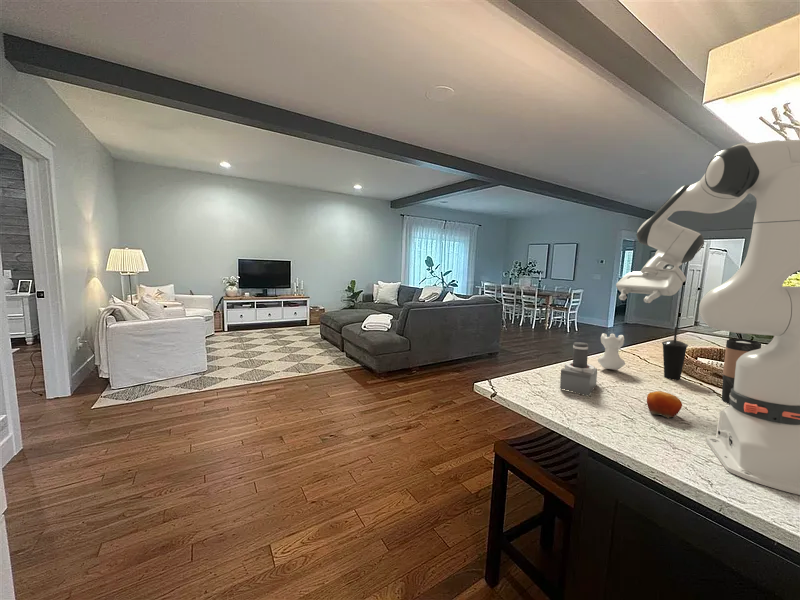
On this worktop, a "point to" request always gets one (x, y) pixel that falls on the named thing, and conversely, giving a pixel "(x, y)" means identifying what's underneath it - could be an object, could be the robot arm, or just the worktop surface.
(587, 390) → the grey block with hole
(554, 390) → the worktop surface
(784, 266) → the robot arm
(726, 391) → the travel mug
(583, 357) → the lens
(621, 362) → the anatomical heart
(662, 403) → the fruit
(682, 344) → the drinking cup
